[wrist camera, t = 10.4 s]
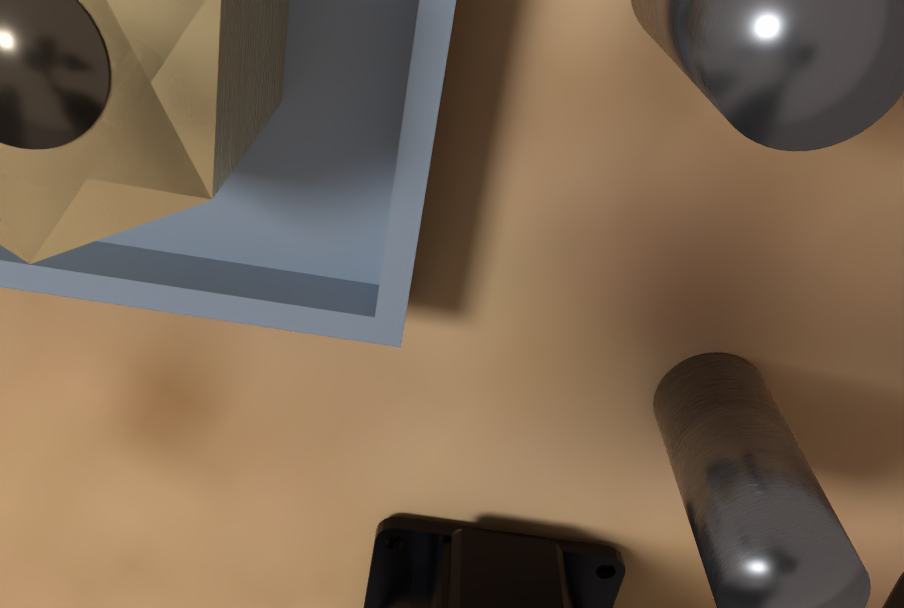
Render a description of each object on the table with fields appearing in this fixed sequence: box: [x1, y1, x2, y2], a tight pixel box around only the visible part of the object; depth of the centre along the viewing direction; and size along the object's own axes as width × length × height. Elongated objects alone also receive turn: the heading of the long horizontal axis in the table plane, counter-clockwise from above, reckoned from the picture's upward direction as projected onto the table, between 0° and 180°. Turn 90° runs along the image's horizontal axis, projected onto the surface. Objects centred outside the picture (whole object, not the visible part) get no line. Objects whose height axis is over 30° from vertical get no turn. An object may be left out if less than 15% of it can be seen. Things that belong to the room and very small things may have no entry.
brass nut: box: [0, 0, 290, 264], centre depth 13 cm, size 6×5×5 cm
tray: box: [0, 0, 456, 347], centre depth 15 cm, size 11×11×2 cm
